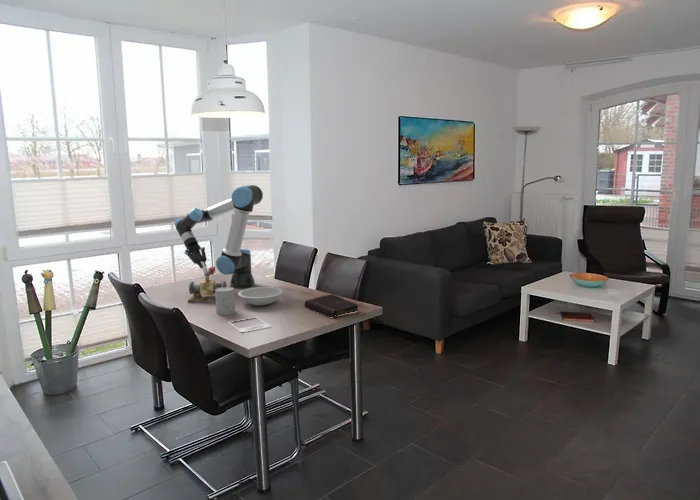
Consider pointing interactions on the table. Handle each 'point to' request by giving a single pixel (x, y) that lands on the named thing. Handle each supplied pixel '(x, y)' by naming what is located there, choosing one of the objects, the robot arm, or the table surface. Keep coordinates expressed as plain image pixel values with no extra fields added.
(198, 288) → the valve stand
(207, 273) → the lever
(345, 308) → the diary
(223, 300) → the speckled concrete cylinder
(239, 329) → the photo frame
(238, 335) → the table surface
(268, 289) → the sink basin
